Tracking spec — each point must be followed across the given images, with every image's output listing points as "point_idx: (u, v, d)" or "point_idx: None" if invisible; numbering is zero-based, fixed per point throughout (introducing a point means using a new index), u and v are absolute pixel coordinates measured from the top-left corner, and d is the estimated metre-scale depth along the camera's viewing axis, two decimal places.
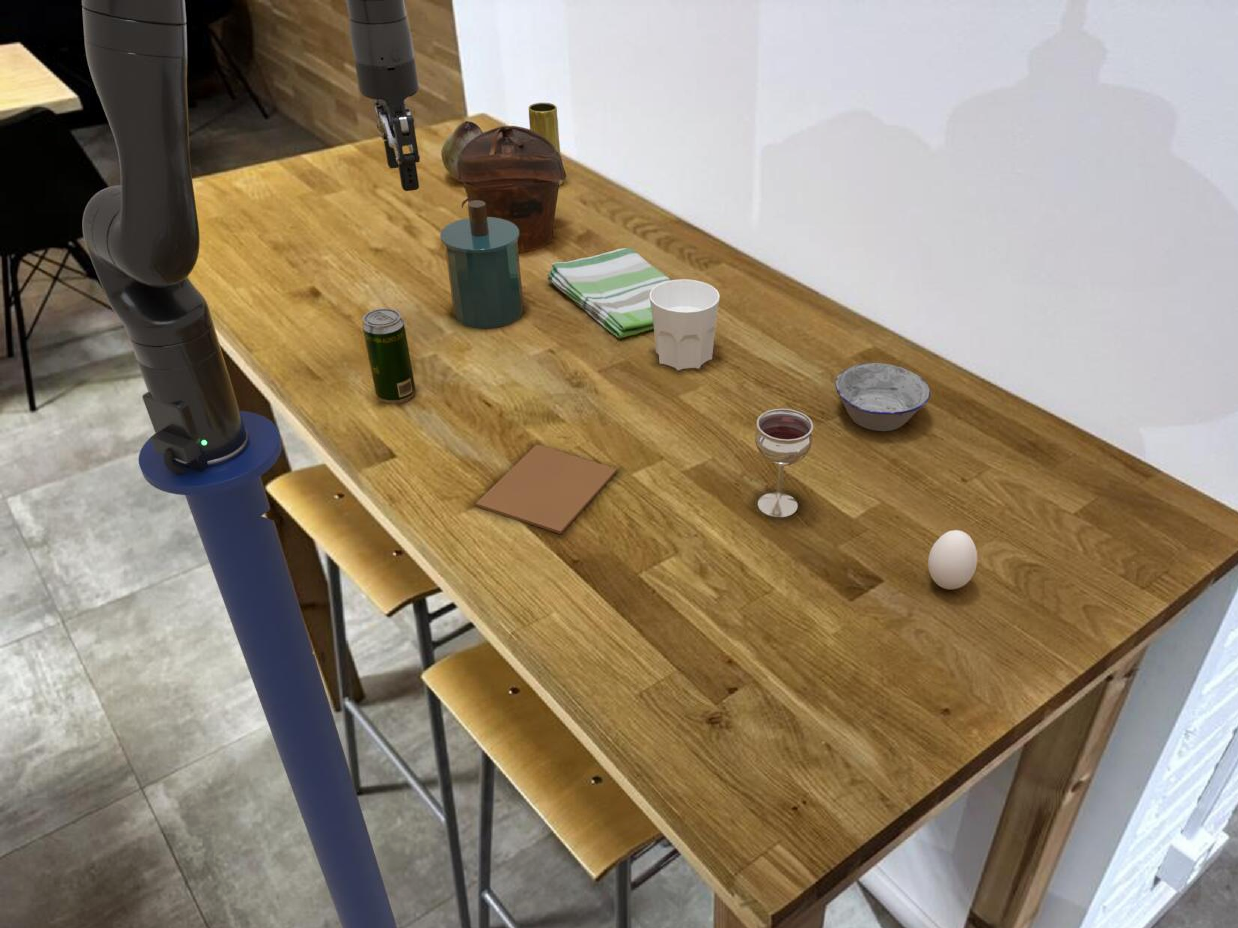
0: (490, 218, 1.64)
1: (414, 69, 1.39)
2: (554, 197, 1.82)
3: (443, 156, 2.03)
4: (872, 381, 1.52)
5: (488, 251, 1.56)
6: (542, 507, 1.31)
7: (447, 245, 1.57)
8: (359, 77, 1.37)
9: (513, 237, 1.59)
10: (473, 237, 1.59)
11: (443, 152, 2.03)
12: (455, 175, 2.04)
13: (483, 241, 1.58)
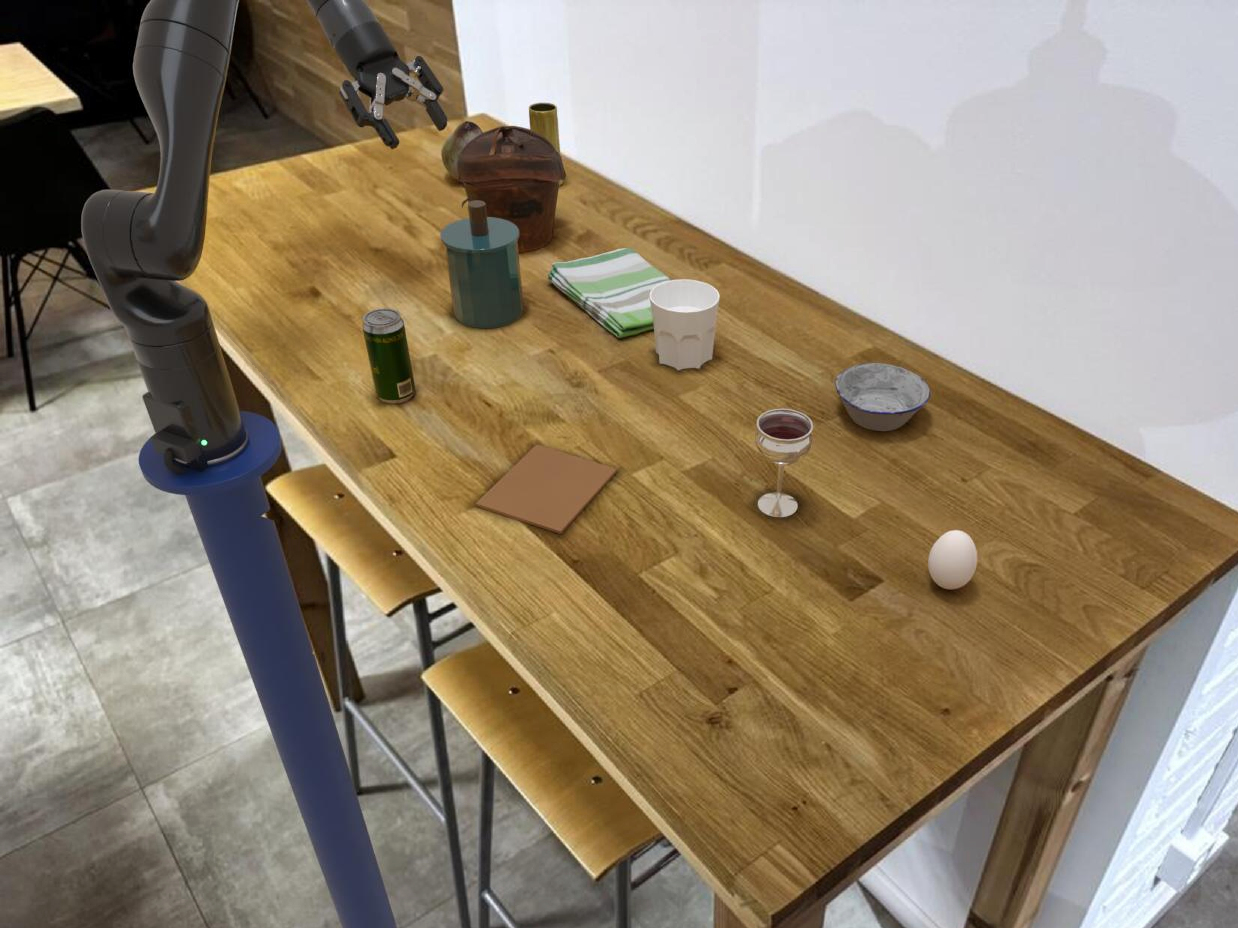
0: (490, 218, 1.64)
1: None
2: (554, 197, 1.82)
3: (443, 156, 2.03)
4: (872, 381, 1.52)
5: (488, 251, 1.56)
6: (542, 507, 1.31)
7: (447, 245, 1.57)
8: (377, 34, 1.52)
9: (513, 237, 1.59)
10: (473, 237, 1.59)
11: (443, 152, 2.03)
12: (455, 175, 2.04)
13: (483, 241, 1.58)
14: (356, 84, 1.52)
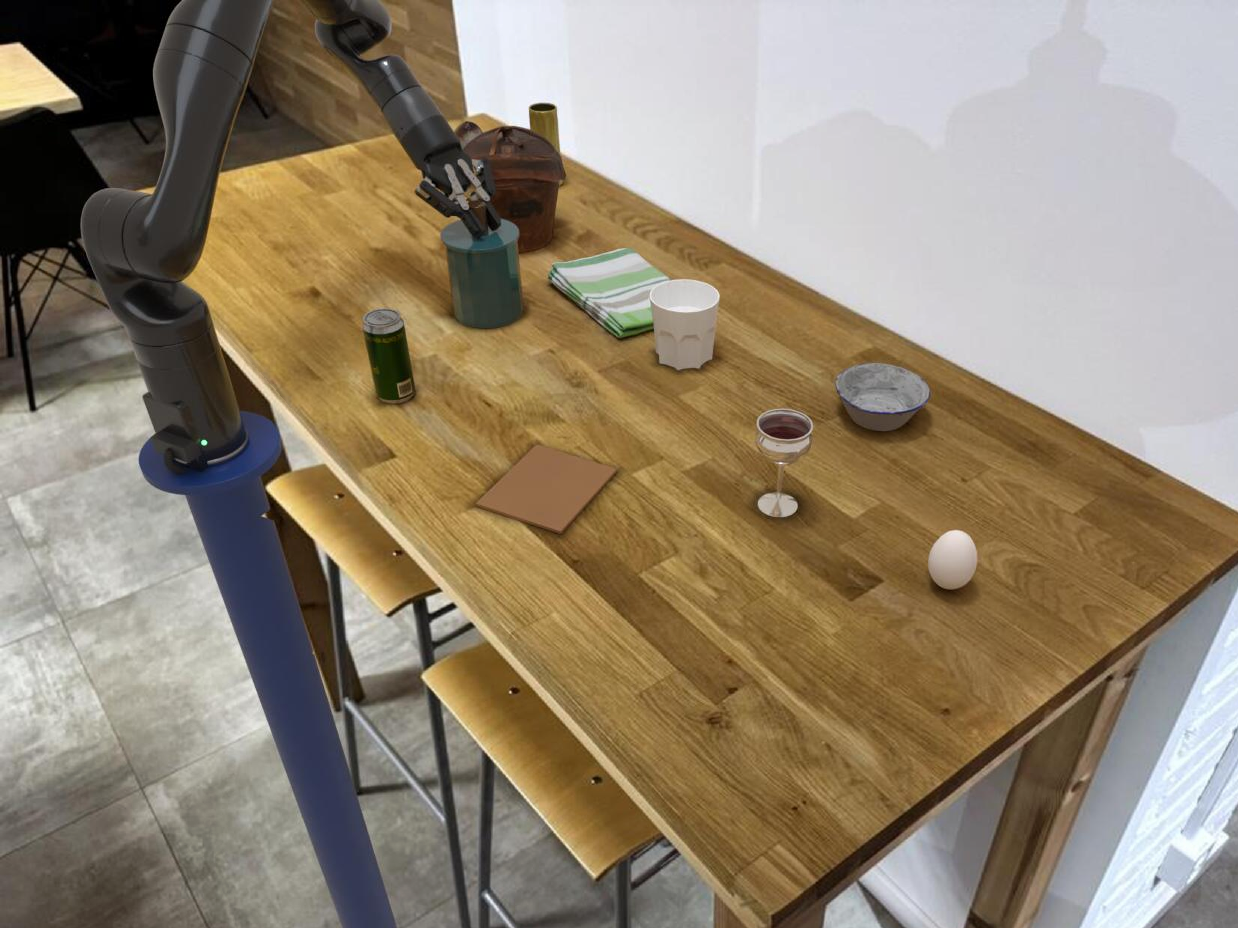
0: None
1: None
2: (554, 197, 1.82)
3: None
4: (872, 381, 1.52)
5: (488, 251, 1.56)
6: (542, 507, 1.31)
7: (447, 245, 1.57)
8: (444, 127, 1.54)
9: (513, 237, 1.59)
10: (473, 237, 1.59)
11: None
12: None
13: (483, 241, 1.58)
14: (428, 179, 1.54)
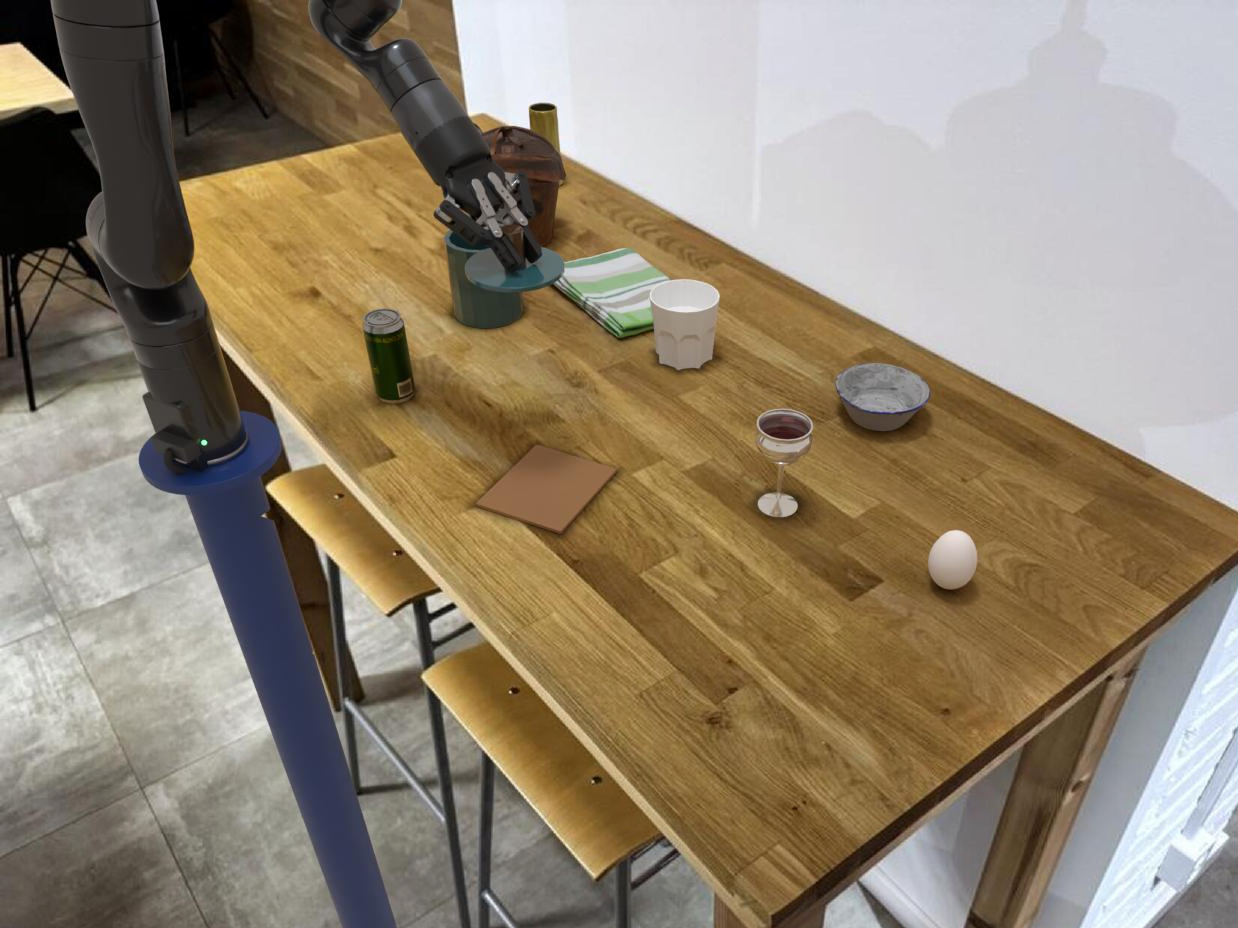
0: None
1: None
2: (554, 197, 1.82)
3: None
4: (872, 381, 1.52)
5: (527, 290, 1.22)
6: (542, 507, 1.31)
7: (474, 282, 1.23)
8: (470, 131, 1.20)
9: (557, 271, 1.25)
10: (506, 271, 1.25)
11: None
12: None
13: (519, 276, 1.24)
14: (451, 199, 1.20)
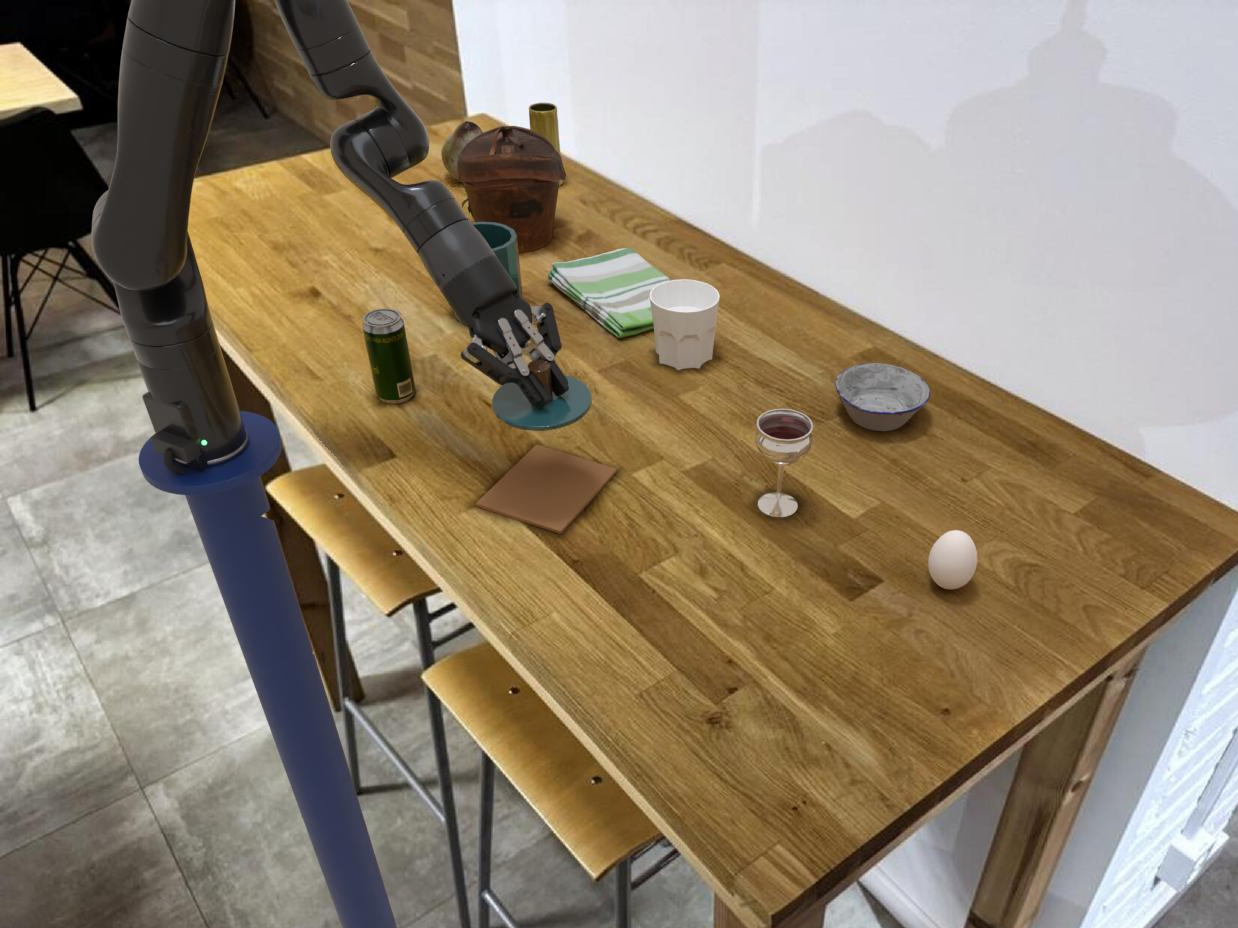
0: None
1: None
2: (554, 197, 1.82)
3: (443, 156, 2.03)
4: (872, 381, 1.52)
5: (554, 427, 1.22)
6: (542, 507, 1.31)
7: (502, 419, 1.23)
8: (497, 271, 1.20)
9: (585, 405, 1.25)
10: (534, 406, 1.25)
11: (443, 152, 2.03)
12: (455, 175, 2.04)
13: (546, 412, 1.24)
14: (478, 339, 1.20)
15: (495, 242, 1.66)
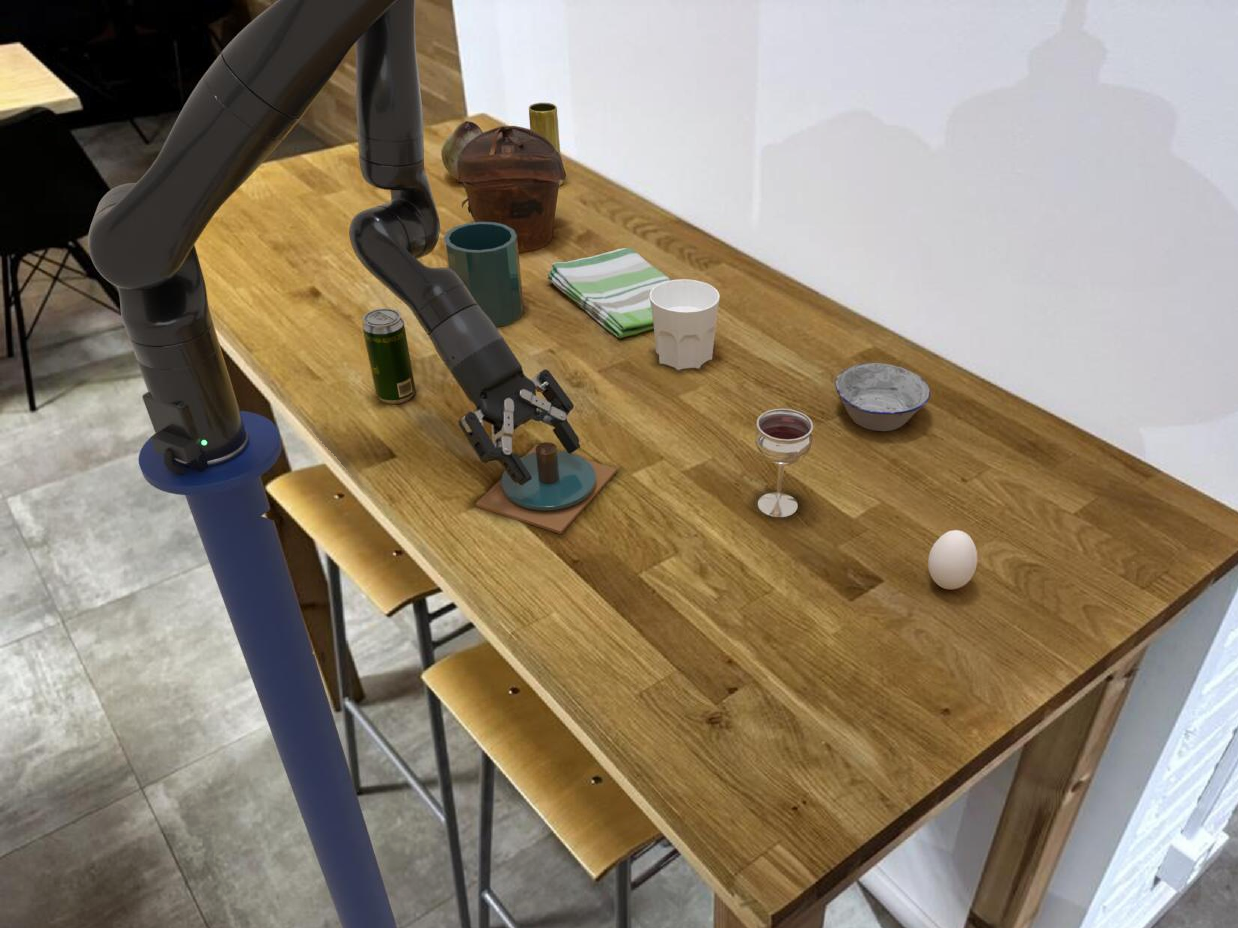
0: (559, 454, 1.37)
1: None
2: (554, 197, 1.82)
3: (443, 156, 2.03)
4: (872, 381, 1.52)
5: (561, 507, 1.29)
6: None
7: (511, 498, 1.30)
8: (504, 354, 1.27)
9: (589, 485, 1.32)
10: (541, 485, 1.32)
11: (443, 152, 2.03)
12: (455, 175, 2.04)
13: (553, 492, 1.31)
14: (480, 414, 1.26)
15: (495, 242, 1.66)
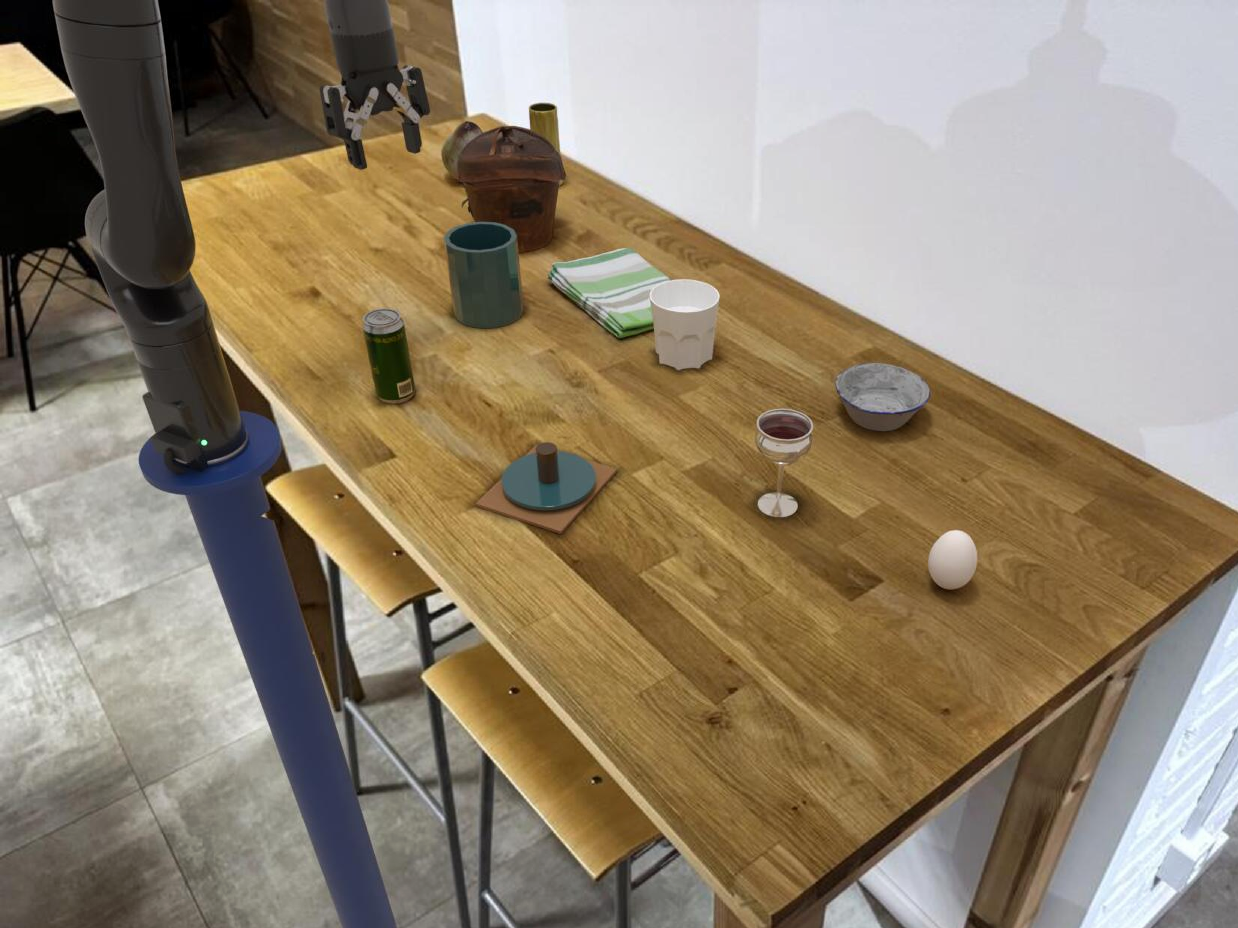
0: (559, 454, 1.37)
1: None
2: (554, 197, 1.82)
3: (443, 156, 2.03)
4: (872, 381, 1.52)
5: (561, 507, 1.29)
6: None
7: (511, 498, 1.30)
8: (388, 48, 1.31)
9: (589, 485, 1.32)
10: (541, 485, 1.32)
11: (443, 152, 2.03)
12: (455, 175, 2.04)
13: (553, 492, 1.31)
14: (343, 90, 1.32)
15: (495, 242, 1.66)
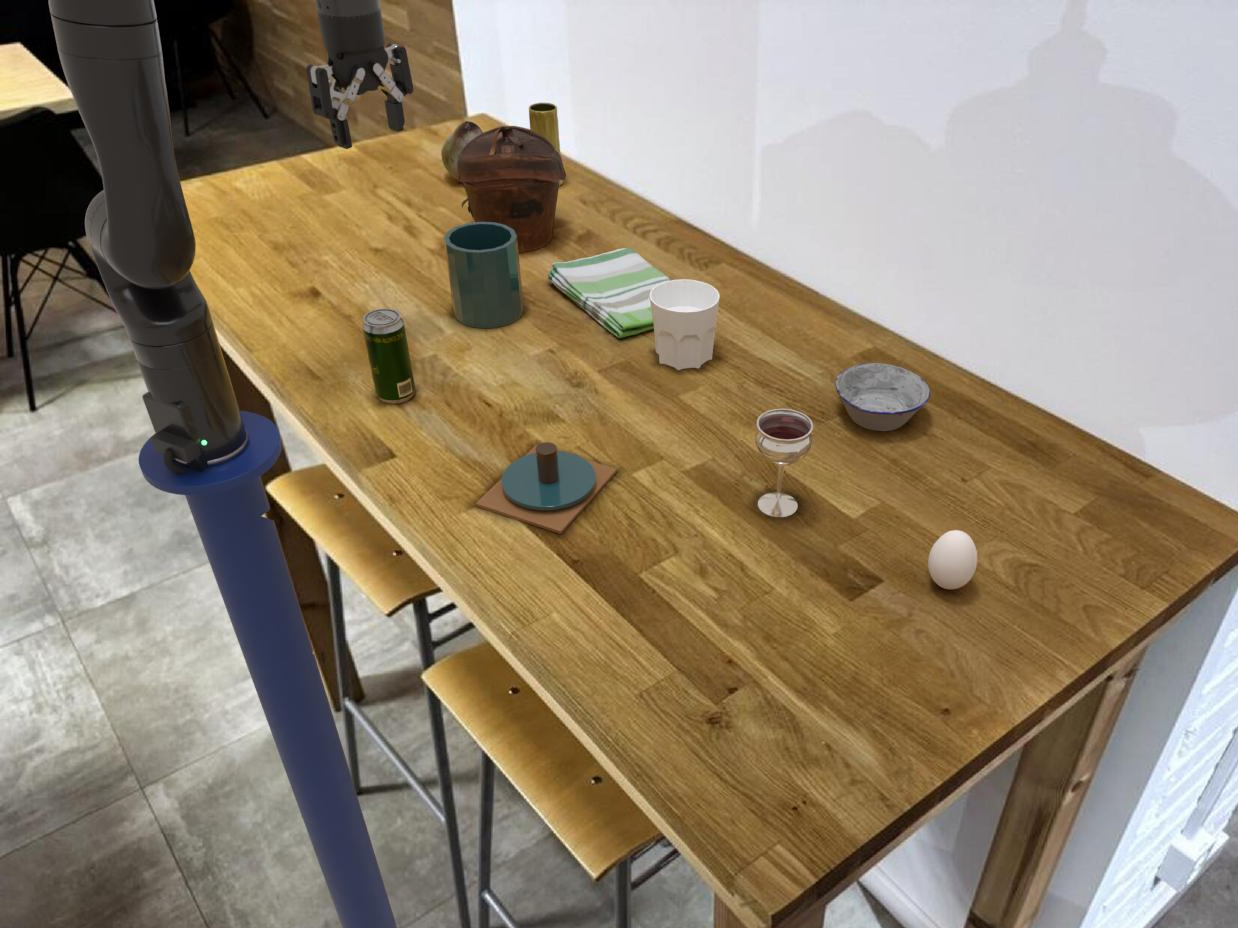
0: (559, 454, 1.37)
1: None
2: (554, 197, 1.82)
3: (443, 156, 2.03)
4: (872, 381, 1.52)
5: (561, 507, 1.29)
6: None
7: (511, 498, 1.30)
8: (376, 29, 1.32)
9: (589, 485, 1.32)
10: (541, 485, 1.32)
11: (443, 152, 2.03)
12: (455, 175, 2.04)
13: (553, 492, 1.31)
14: (330, 70, 1.32)
15: (495, 242, 1.66)
